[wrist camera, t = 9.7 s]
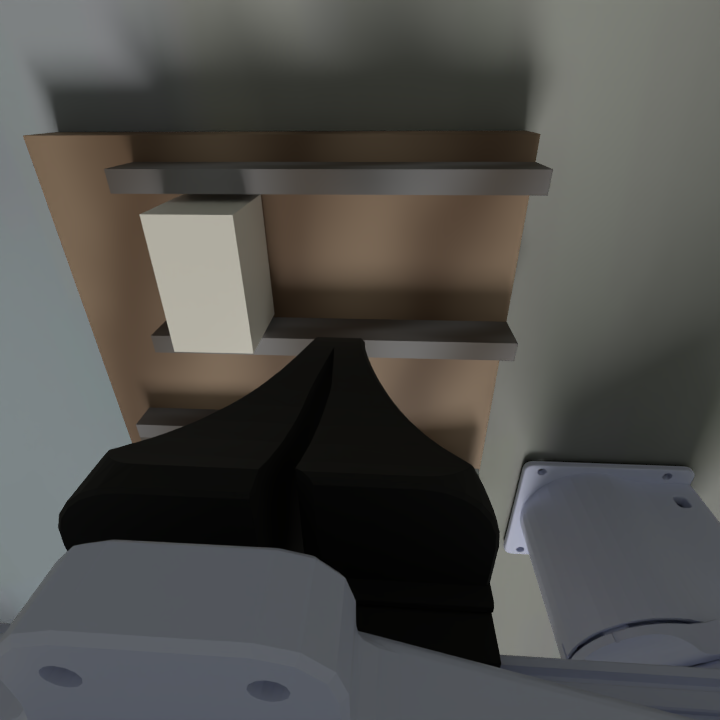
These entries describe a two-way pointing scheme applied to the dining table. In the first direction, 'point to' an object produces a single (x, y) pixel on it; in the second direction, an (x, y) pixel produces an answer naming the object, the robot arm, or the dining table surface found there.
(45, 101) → the dining table surface
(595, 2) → the dining table surface
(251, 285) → the slider knob
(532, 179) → the panel
